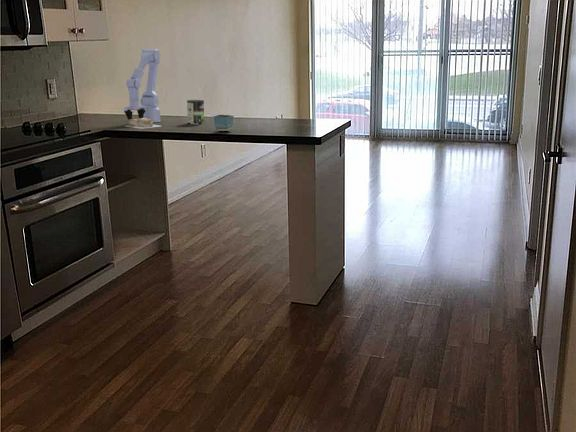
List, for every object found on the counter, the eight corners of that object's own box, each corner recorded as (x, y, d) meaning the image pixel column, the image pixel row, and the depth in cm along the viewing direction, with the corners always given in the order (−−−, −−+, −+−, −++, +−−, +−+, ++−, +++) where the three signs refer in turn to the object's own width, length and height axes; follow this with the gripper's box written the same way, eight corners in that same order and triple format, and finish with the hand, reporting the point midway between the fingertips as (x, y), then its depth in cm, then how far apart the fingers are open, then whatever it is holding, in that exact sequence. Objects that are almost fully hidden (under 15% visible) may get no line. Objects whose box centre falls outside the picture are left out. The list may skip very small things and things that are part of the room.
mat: (145, 124, 367) (145, 123, 367) (163, 126, 358) (163, 126, 358) (124, 126, 355) (124, 126, 355) (141, 129, 346) (141, 128, 346)
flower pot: (234, 131, 342) (234, 115, 340) (227, 133, 334) (227, 117, 332) (220, 130, 345) (219, 114, 342) (213, 132, 337) (213, 116, 334)
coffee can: (206, 122, 376) (206, 100, 372) (201, 124, 366) (200, 101, 362) (191, 122, 378) (190, 99, 374) (185, 124, 368) (184, 100, 364)
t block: (144, 124, 364) (144, 117, 363) (158, 126, 357) (157, 119, 356) (128, 126, 355) (128, 119, 354) (141, 128, 348) (141, 121, 347)
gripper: (139, 98, 365) (140, 120, 368) (119, 99, 353) (121, 122, 357) (147, 98, 360) (148, 121, 364) (127, 100, 349) (128, 123, 353)
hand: (135, 122), depth 360 cm, fingers open, 7 cm apart
